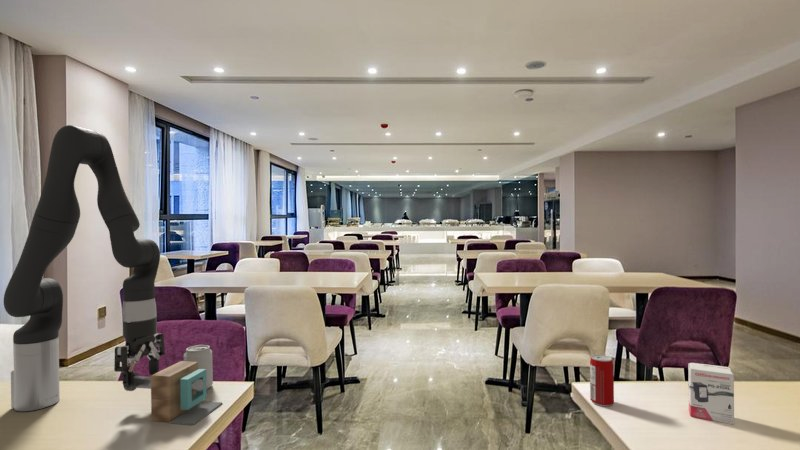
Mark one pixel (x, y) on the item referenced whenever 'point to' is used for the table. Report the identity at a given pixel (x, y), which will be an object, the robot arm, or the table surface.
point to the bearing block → (169, 391)
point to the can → (201, 360)
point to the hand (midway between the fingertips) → (141, 380)
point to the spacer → (186, 389)
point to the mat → (196, 413)
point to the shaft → (146, 383)
